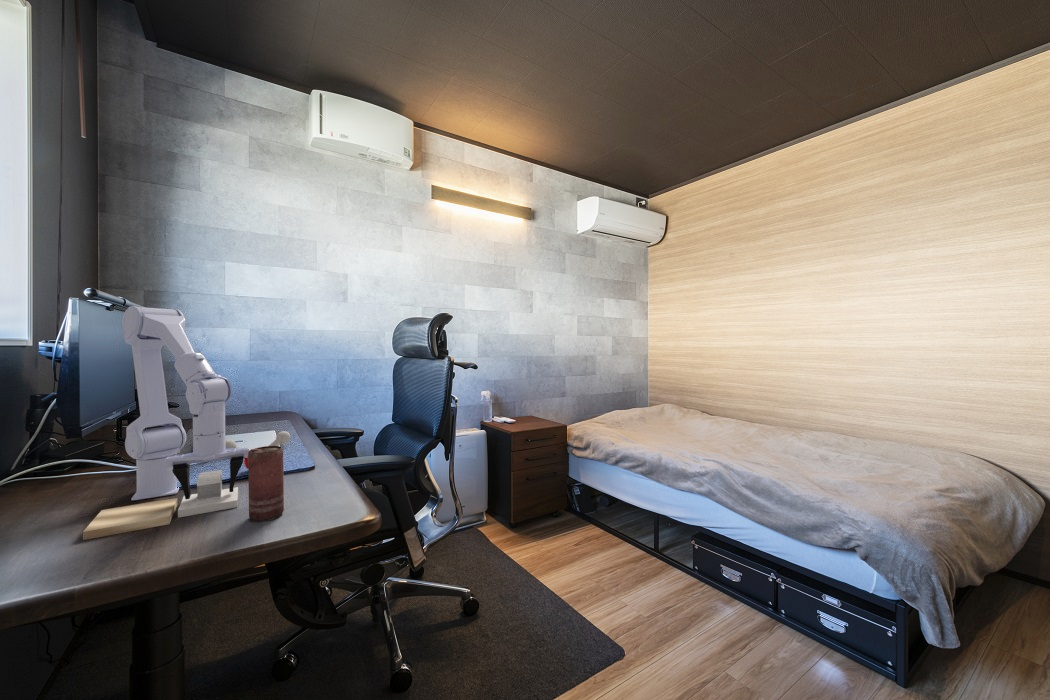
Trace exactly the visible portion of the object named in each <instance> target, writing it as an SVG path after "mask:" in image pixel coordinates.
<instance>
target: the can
mask: <svg viewBox="0 0 1050 700" xmlns="http://www.w3.org/2000/svg"><path fill="white" fill-rule="evenodd" d="M247 471H248V477H247V478H248V517H249V519H250V520H251V521H253V522H256V523H257V522H259V523H260V522H267V521H268V522H269V521H271V520H275V519H277V518H279V517H280V516H282V514H283V513H284V511H285V497H284V495H285V493H284V492H285V490H284V487H285V486H284V481H285V479H284V450H283V448H282V447H281V445H279V446H269V445H267V446H265V445H264V446H260V447H259V446H258V447H256V448H255V447H254V448H251V449H249V452H248V469H247Z"/></svg>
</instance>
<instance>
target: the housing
mask: <svg viewBox="0 0 1050 700" xmlns="http://www.w3.org/2000/svg"><path fill="white" fill-rule="evenodd" d="M196 488H197V489H196V491H197V492H196V494H197V505H200V504H205V503H211V502H217V501H221V496H222V490H223V469H218V470H212V471H204V472H199V475H198V477H197V480H196Z"/></svg>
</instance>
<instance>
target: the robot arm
mask: <svg viewBox="0 0 1050 700" xmlns="http://www.w3.org/2000/svg"><path fill="white" fill-rule="evenodd" d="M121 327H122V333H123V339H124V343H125V344H126V345H130V346H131V350H132V358H133V365H134V367H133V368H134V374H135V383H136V390H137V398H138V407H139V413H140V414H139V415H140V416H139V417H137V418H136V419H135V420H134V421H132V422H130V424H128V426H126V428H125V429H126V431H125V433H126V437H125V440H124V447H125V451H126V453H127V455H128V456H129V457H130V458H132V459H133V460H136V464H135V466H136V467H135V468H136V491H135V492H134V495H132V497H131V498H130V499H131V501H140V500H145V499H152V498H158V497H164V496H172V495H176V494H178V492H179V490H180V488H179V487H178V488H177V482H180V484H181V486H180V487H181V489H182V490H183V491H182V492H183V494H184V495H183V496H185V499H190V495H191V492H192V491H191V484H190V483H191V482H190V473H191V472H190V471H191V469H190V467H191V465H194V464H202V463H210V462H218V461H225V460H229V487H228V489H229V492H233V488H235V483H236V479H237V477H238V475H239V474H238V473H239V472H240V470H241V468H242V465H243V464H244V458H248V452H249V450H250V447H238V448H234V449H226V446H225V440H226V403H228V401H229V400H230V399H231V396H232V387H231V383H230V382H229V379H228V378H226V377H224V376H221V374H216V372H215V370H214V369H213V368H212V366H211V365H210V363H209V361H208V359H206V357H205V355H204V354H202V353H199V352H195V350H194V348H193V346H192V344H191V342H190V340H189V338H188V336H187V334H186V331H185V328H186V318H185V315H184V314H183V313H182V311H181V310H180V309H179V308H169V309H168V308H160V307H159V308H157V307H145V306H144V307H143V306H141V307H140V306H136V305H130V306H129V307H128V308H126V309H125V311H124V313H123V316H122V317H121ZM164 346H166V349H168V350H169V352H170V353H171V354H172V355H173V357H174V358H175V359H176V360H175V362H174V364H173V367H174V369H175V370H176V372H177V374H178V375H179V376H180V378H181V380H182V381H183V383H184V384H185V386H186V391H185V398H186V401H187V403H188V408H189V413H190V414H191V415H192V443H193V444H192V452H189V453H185V454H179V453H181V449H183V448H184V447H185V445H186V442H187V432H186V429H184V427H183V422H182V419H181V418H180V417H178V416H176V415H174V414H172V413H170V411H169V407H168V397H167V391H166V390H167V389H166V382H165V374H164V367H163V359H162V351H161V350H162V348H163V347H164ZM159 426H161V427H159ZM151 427H155V428H151ZM147 428H149V429H147Z"/></svg>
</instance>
